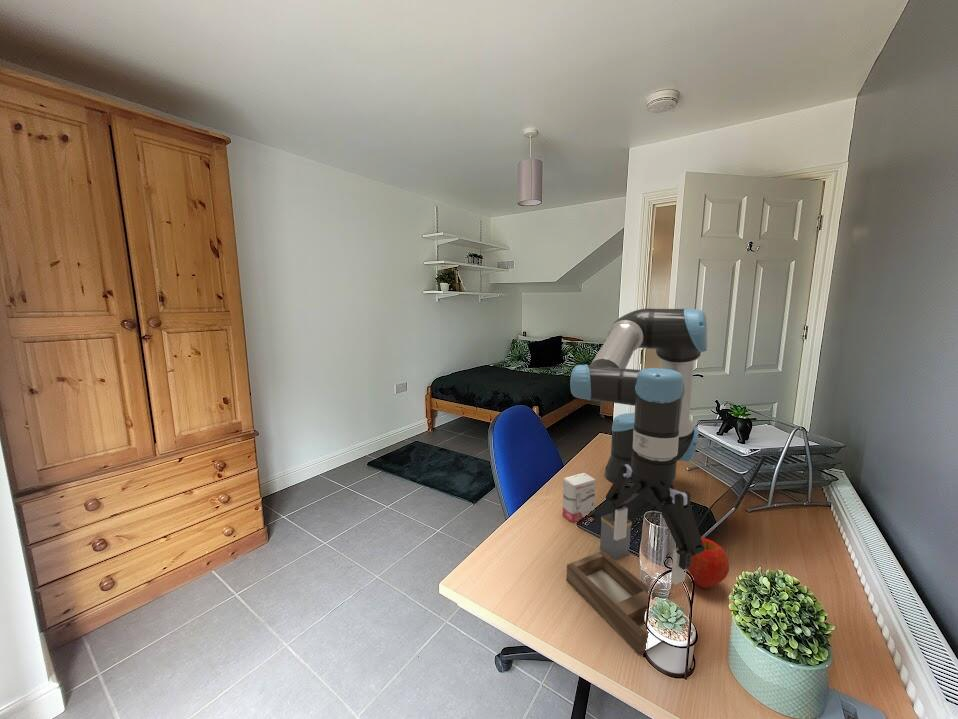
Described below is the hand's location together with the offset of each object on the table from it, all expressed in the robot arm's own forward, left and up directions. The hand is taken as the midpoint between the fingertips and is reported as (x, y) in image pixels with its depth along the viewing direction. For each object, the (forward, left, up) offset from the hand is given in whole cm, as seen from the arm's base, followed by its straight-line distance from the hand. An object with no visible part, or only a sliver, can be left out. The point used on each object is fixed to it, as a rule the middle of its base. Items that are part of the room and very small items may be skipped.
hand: (646, 558), depth 73 cm
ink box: (-15, -37, -16) cm, 43 cm away
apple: (-22, -2, -16) cm, 27 cm away
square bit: (-12, -20, -16) cm, 28 cm away
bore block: (0, -7, -16) cm, 17 cm away
